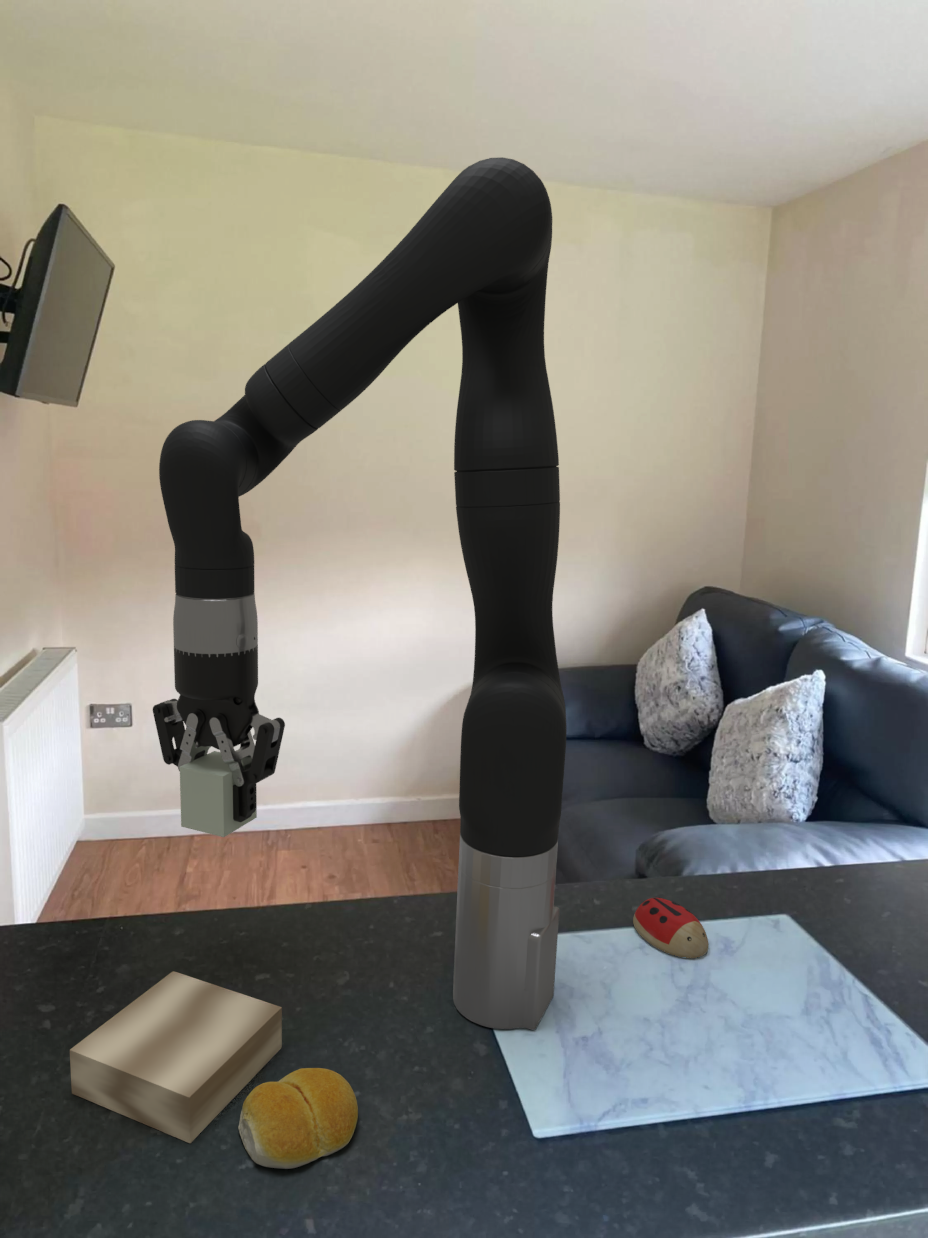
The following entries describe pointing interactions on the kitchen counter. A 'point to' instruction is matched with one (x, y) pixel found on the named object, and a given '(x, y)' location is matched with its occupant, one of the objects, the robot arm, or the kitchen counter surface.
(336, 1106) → the bread roll
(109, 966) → the kitchen counter surface
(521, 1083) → the kitchen counter surface
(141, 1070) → the birch plinth
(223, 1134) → the kitchen counter surface
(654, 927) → the ladybug figurine
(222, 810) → the sage block
